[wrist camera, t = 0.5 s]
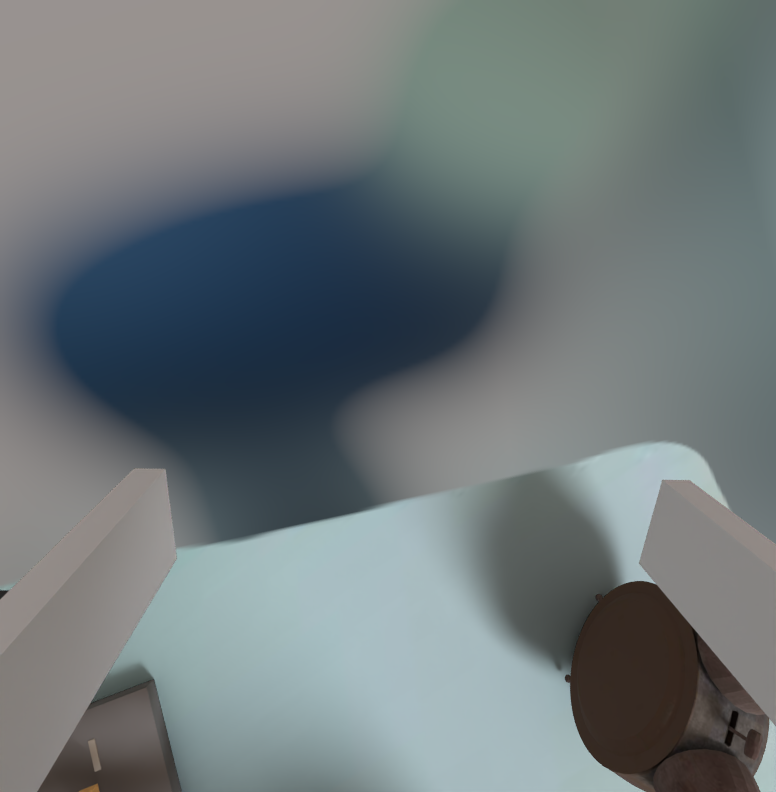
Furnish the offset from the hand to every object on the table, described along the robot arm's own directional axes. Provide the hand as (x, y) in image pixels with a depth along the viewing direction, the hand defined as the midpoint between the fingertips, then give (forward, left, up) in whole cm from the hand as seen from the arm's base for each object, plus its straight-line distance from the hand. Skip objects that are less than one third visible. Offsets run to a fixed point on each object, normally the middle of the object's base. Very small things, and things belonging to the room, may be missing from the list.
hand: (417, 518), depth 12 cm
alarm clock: (-22, -17, -33) cm, 43 cm away
